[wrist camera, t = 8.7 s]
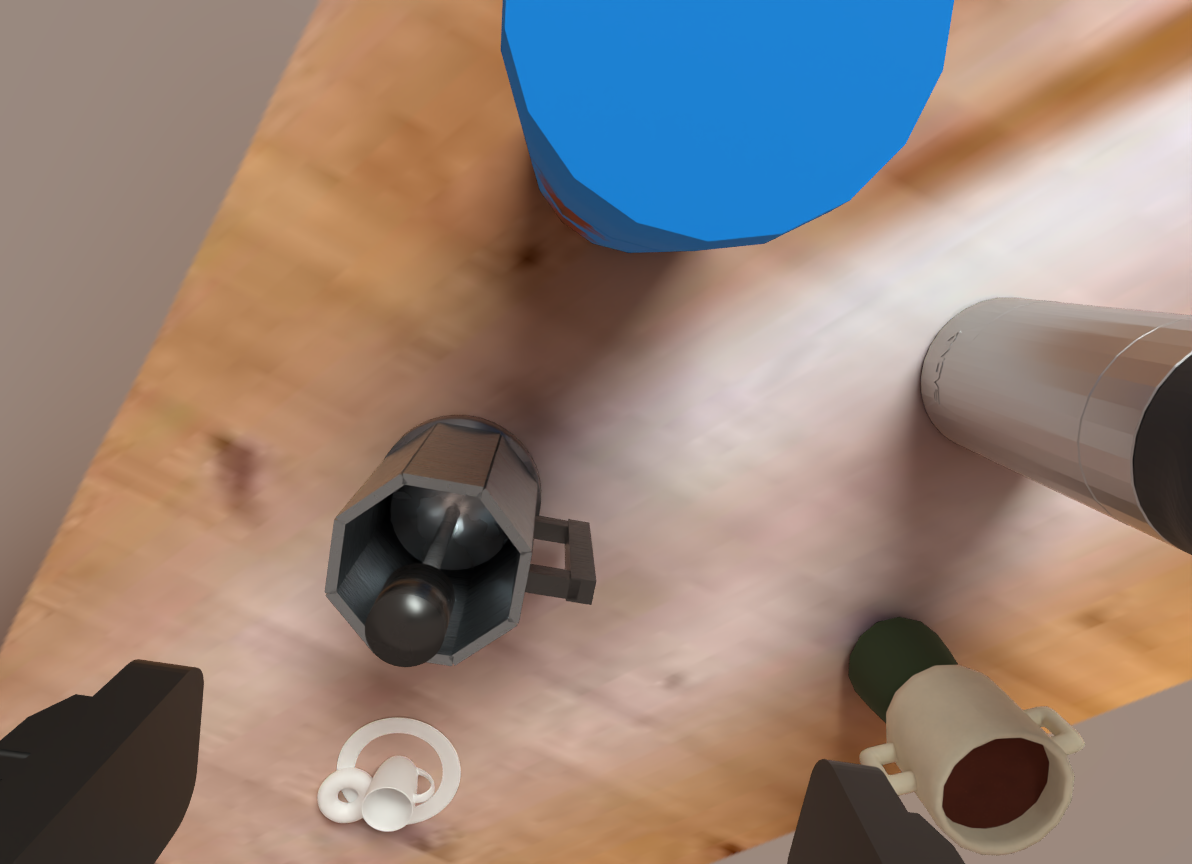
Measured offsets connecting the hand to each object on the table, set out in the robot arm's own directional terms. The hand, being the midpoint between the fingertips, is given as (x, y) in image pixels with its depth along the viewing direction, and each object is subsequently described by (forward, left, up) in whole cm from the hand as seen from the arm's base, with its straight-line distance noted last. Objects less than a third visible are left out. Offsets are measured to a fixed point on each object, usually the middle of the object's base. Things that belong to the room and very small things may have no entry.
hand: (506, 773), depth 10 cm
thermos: (-2, -13, -36) cm, 38 cm away
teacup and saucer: (+7, +26, -36) cm, 45 cm away
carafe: (+2, +8, -35) cm, 36 cm away
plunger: (+4, +8, -33) cm, 34 cm away
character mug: (-25, +14, -36) cm, 46 cm away
